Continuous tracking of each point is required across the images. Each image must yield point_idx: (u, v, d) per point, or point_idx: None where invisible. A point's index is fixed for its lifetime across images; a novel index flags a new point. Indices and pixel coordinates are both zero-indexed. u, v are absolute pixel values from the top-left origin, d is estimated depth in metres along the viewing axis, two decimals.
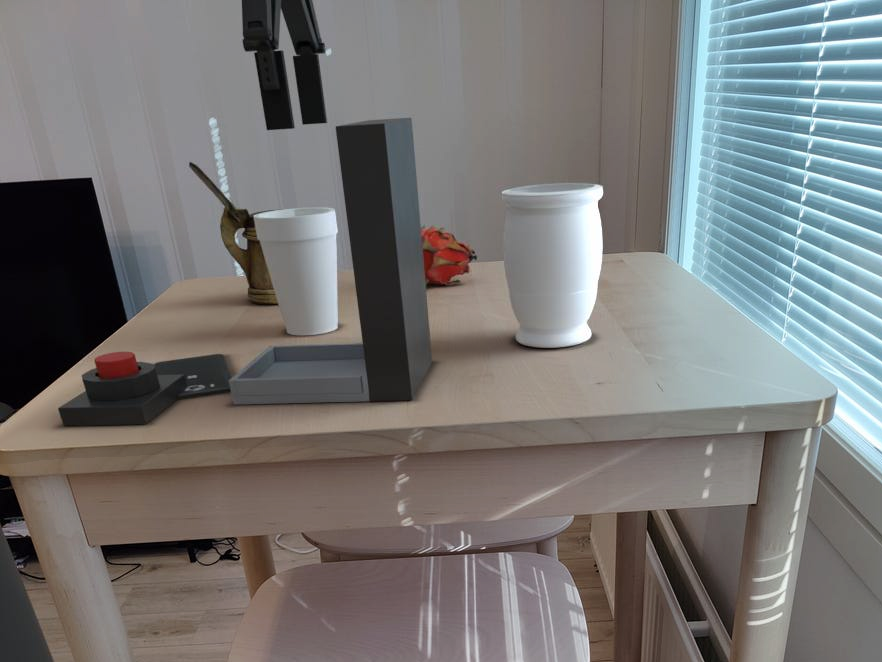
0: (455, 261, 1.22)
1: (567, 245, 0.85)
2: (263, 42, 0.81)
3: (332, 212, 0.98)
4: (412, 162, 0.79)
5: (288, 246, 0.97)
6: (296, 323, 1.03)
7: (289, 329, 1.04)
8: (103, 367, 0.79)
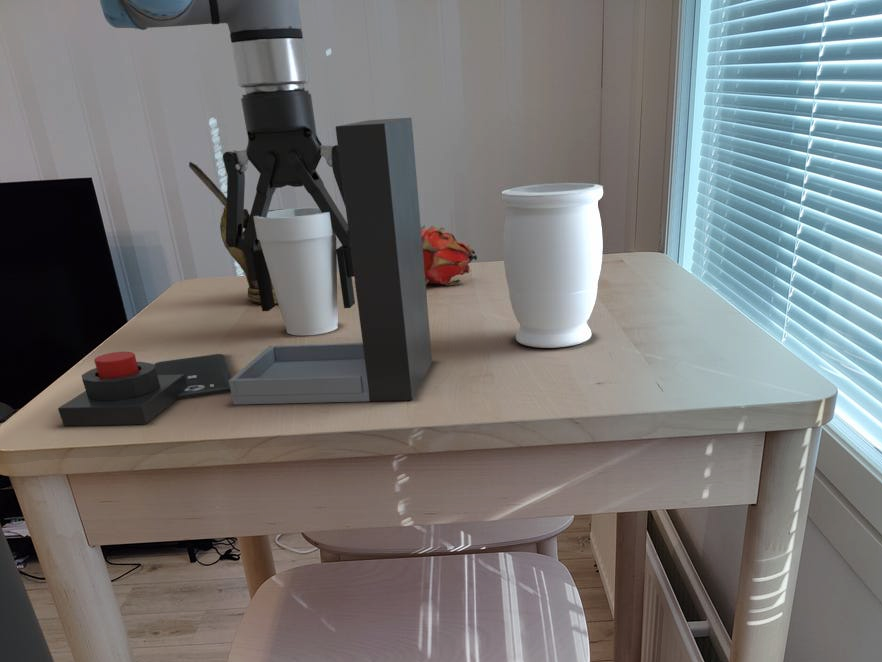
0: (455, 261, 1.22)
1: (567, 245, 0.85)
2: None
3: None
4: (412, 162, 0.79)
5: (288, 246, 0.97)
6: (296, 323, 1.03)
7: (289, 329, 1.04)
8: (103, 367, 0.79)
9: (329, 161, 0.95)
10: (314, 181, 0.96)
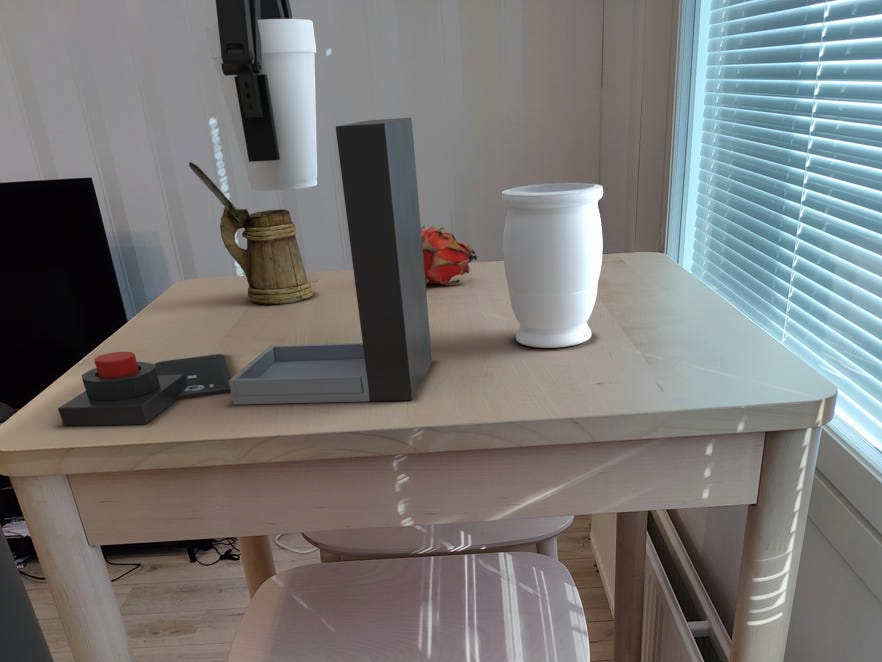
0: (455, 261, 1.22)
1: (567, 245, 0.85)
2: None
3: None
4: (412, 162, 0.79)
5: (312, 60, 0.78)
6: (311, 170, 0.82)
7: (300, 181, 0.82)
8: (103, 367, 0.79)
9: None
10: None
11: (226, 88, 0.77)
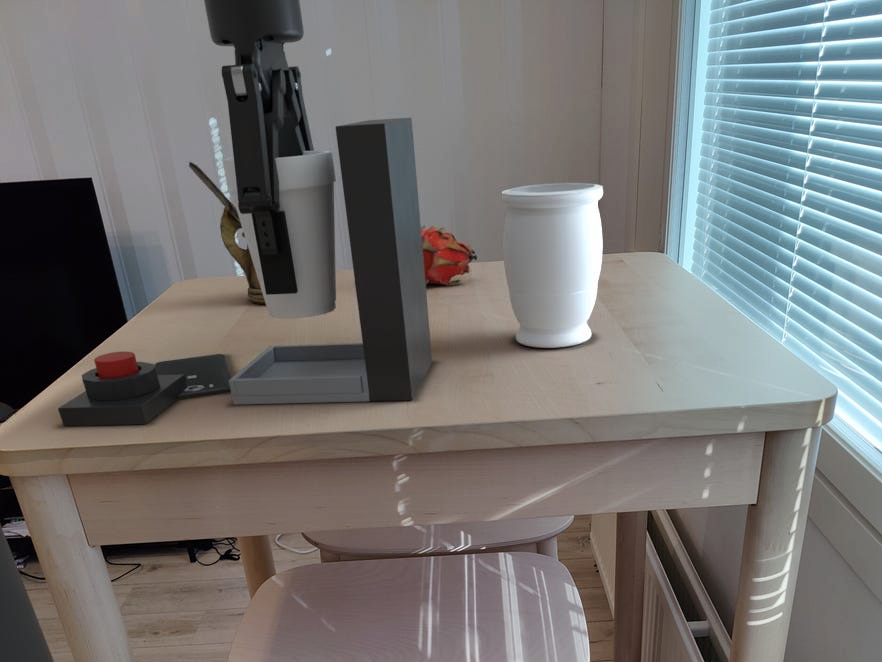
0: (455, 261, 1.22)
1: (567, 245, 0.85)
2: None
3: None
4: (412, 162, 0.79)
5: (331, 190, 0.76)
6: (330, 296, 0.80)
7: (319, 308, 0.80)
8: (103, 367, 0.79)
9: (297, 86, 0.77)
10: None
11: (243, 220, 0.76)
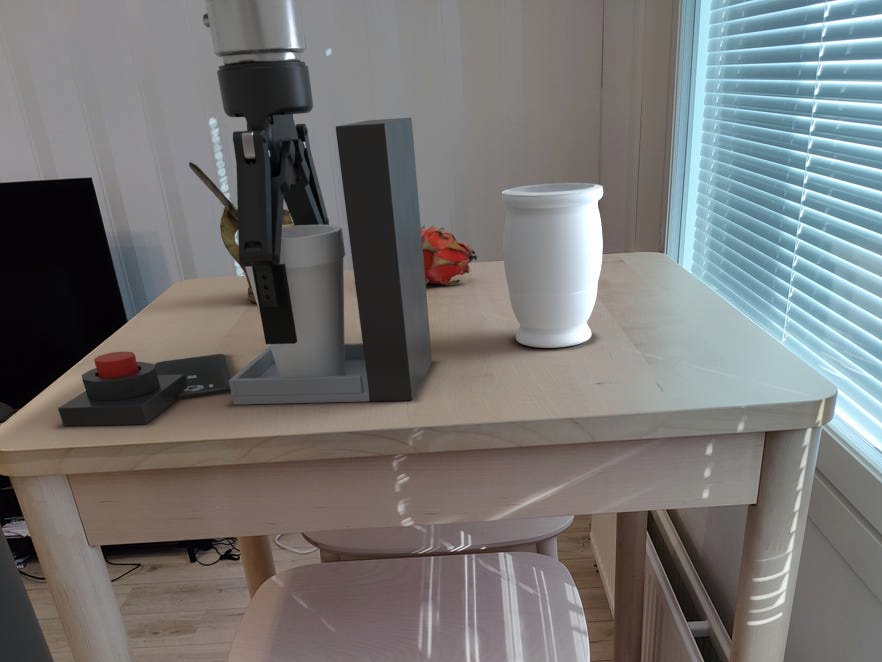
0: (455, 261, 1.22)
1: (567, 245, 0.85)
2: None
3: None
4: (412, 162, 0.79)
5: (341, 264, 0.80)
6: (339, 363, 0.84)
7: (328, 375, 0.83)
8: (103, 367, 0.79)
9: (305, 145, 0.79)
10: None
11: None
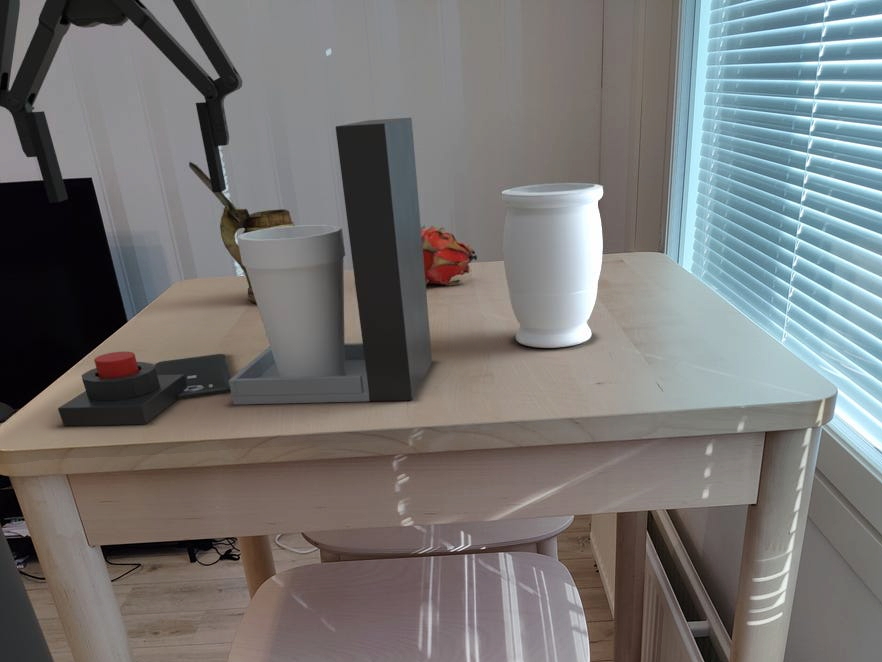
0: (455, 261, 1.22)
1: (567, 245, 0.85)
2: None
3: None
4: (412, 162, 0.79)
5: (341, 264, 0.80)
6: (339, 363, 0.84)
7: (328, 375, 0.83)
8: (103, 367, 0.79)
9: None
10: (141, 8, 0.66)
11: (257, 294, 0.79)
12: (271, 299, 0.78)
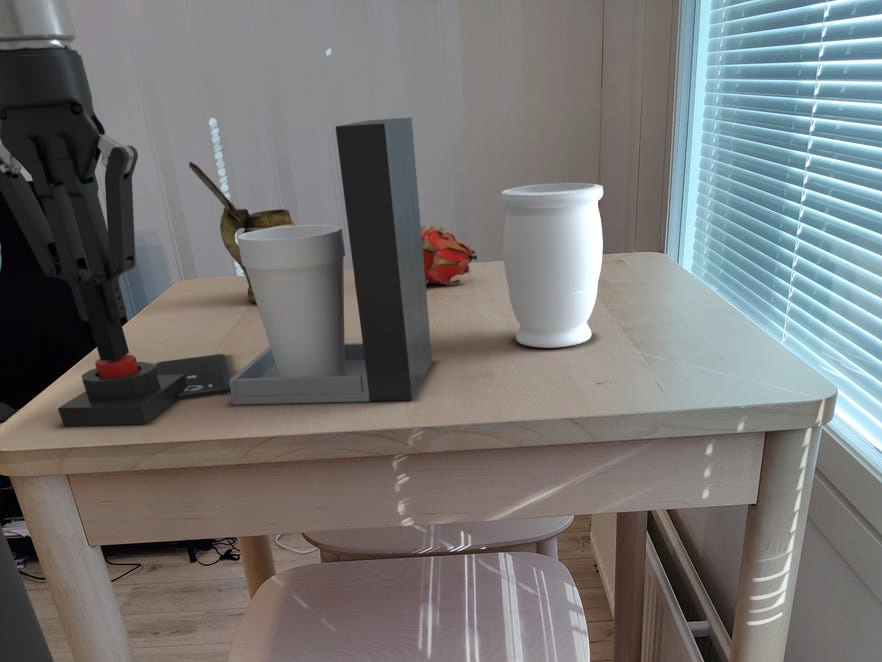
0: (455, 261, 1.22)
1: (567, 245, 0.85)
2: (124, 272, 0.76)
3: None
4: (412, 162, 0.79)
5: (341, 264, 0.80)
6: (339, 363, 0.84)
7: (328, 375, 0.83)
8: (104, 370, 0.79)
9: (104, 161, 0.70)
10: (80, 185, 0.71)
11: (257, 294, 0.79)
12: (271, 299, 0.78)
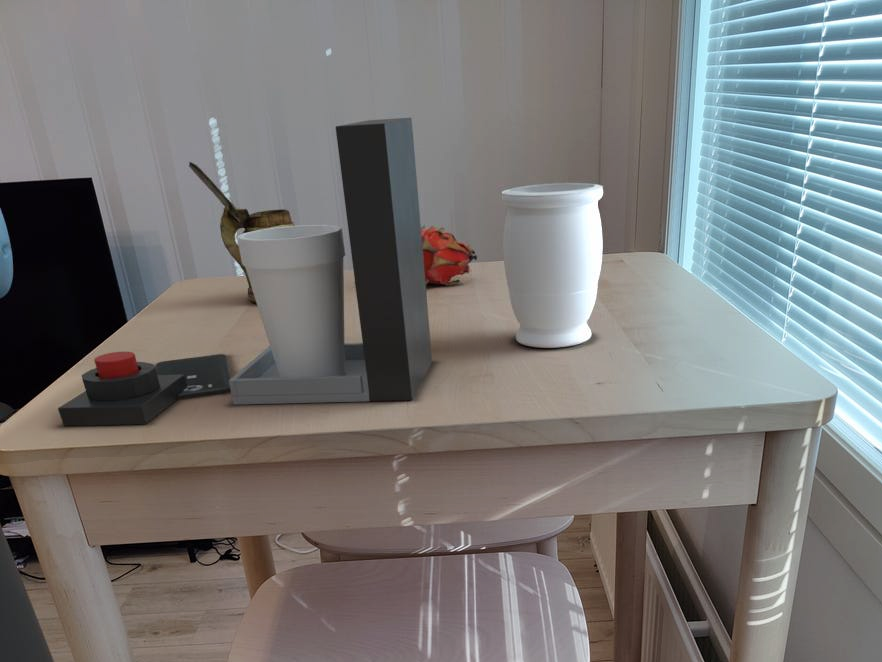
0: (455, 261, 1.22)
1: (567, 245, 0.85)
2: None
3: None
4: (412, 162, 0.79)
5: (341, 264, 0.80)
6: (339, 363, 0.84)
7: (328, 375, 0.83)
8: (103, 367, 0.79)
9: None
10: None
11: (257, 294, 0.79)
12: (271, 299, 0.78)
